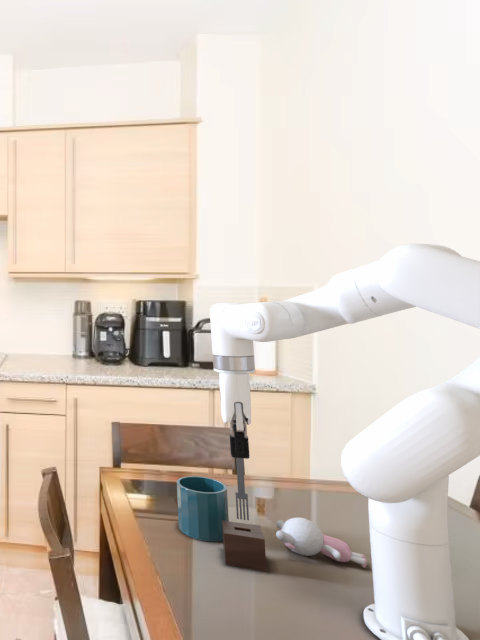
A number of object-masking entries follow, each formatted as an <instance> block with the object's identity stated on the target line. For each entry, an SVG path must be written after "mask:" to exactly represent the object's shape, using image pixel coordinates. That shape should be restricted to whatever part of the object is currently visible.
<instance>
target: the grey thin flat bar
mask: <svg viewBox="0 0 480 640" xmlns="http://www.w3.org/2000/svg"><path fill="white" fill-rule="evenodd" d="M235 461H236V479H237V491H236V492H235V507H236V509H235V510H236V519H237V520H244V521H250V512H249V511H250V510H249V495H248V493H246V486H245V469H244V468H245V467H244V458H235Z"/></svg>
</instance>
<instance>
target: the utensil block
mask: <svg viewBox="0 0 480 640" xmlns="http://www.w3.org/2000/svg"><path fill="white" fill-rule="evenodd" d="M222 531H223V540H222V547H223V557H224V564H225V565H227V566H231V567H237V568H243V569H247V570H248V569H249V570H253V571H260V572H267V570H268V569H267V556H266V554H267V553H266V541H265V535H264V533H263V529H262V526H261V525H259V524H258V525H257V524H250V523H245V522H244V523H243V522H238V521H237V522H236V521H223V520H222Z"/></svg>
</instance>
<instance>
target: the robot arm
mask: <svg viewBox="0 0 480 640" xmlns="http://www.w3.org/2000/svg"><path fill="white" fill-rule="evenodd" d="M412 308H420V309H422V310H425V311H428V312H430V313H433V314H436V315H439V316H442V317H444V318H448V319H450V320H454V321H456V322H459V323H462V324H465V325H468V326H471V327H473V328H476V329H478V330H480V260H477V259H473V258H470V257H466V256H462V255H461V254H460V253H459V252H457V251H456V250H454V249H452V248H450V247H447V246H444V245H439V244H429V243H408V244H403V245H399V246H396V247H395V248H392V249H391V250H390V251H388V252H386V253H385V254H384V255H383V256H382V257H381V258H380V259H379V260H376V261H373V262H370V263H367V264H364V265H361V266H358V267H354V268H352V269H348V270H345V271H342V272H339V273H337V274H335V275H333V276H332V277H330V280H329V282H328V283H327V284H325V285H324V286H322V287H319V288H318V289H315V290H313V291H310V292H306V293H304V294H300V295H298V296H294V297H291V298H288V299H283V300H269V301H261V302H260V301H259V302H250V303H244V302H219V303H218V302H217V303H215V304H213V305H211V307H210V309H209V319H210V320H209V321H210V334H211V335H210V336H211V349H212V351H211V352H212V365H213V371H214V372H216V373H218V374H219V375H218V376H219V377H218V378H219V379H218V380H219V381H218V382H219V383H218V385H219V401H220V415H221V420H222V422H223V423H224V424H228V423H229V431H230V434H229V448H230V456H231V458H235V459H236V458H243V459H245V460H248V459H250V458H251V457H250V444H249V443H250V442H249V436H248V427H247V426H249V425H251V423H252V401H251V400H252V399H251V385H250V374H254V373H256V363H255V362H256V361H255V348H254V342H258V343H269V342H270V343H271V342H276V341H282V340H290V339H295V338H299V337H303V336H307V335H310V334H315V333H318V332H323V331H326V330H330V329H334V328H337V327H341V326H344V325H352V324H353V325H354V324H356V323H359V322H365V321H367V320H371V319H374V318H379V317H383V316H385V315H390V314H393V313H396V312H397V313H398V312H400V311H405V310H409V309H412ZM479 457H480V356H478V358H477V359H475V361H473V362H472V363H471V364H469V365H468V366H466V367H465V368H464V369H462V370H460V372H458V373H457V374H456V375H454V376H452V377H451V378H449V379H448V380H446V381H444V382H442V383H440V384H437V385H434V386H431V387H429V388H426V389H423V390H420V391H418V392H416V393H413V394H412V395H410V396H408V397H407V398H405V399H403V400H401V401H400V402H399V403H397V404H396V405H395V406H394V407H392V408H390V409H389V410H388V411H387V412H385V414H383V415H382V416H380V417H379V418H378V419H376V420H375V421H374V422H372V423H371V424H370V425H368V426H367V427H365V428H364V429H363V430H361V432H359V433H358V434H357V435H355V436H354V437H353V438H352V439H350V440H349V441H348V442H347V443H346V444H345V446H344V447H343V449H342V452H341V456H340V465H341V470H342V474H343V475H344V478H345V479H346V481H347V483H348V484H349V485H350V486H351V487H352V489H354V490H355V491H356V492H357V493H359V494H360V495H362V496H364V497H365V498H367V500H368V501H367V504H368V505H367V508H368V509H367V511H368V512H367V513H368V528H369V529H368V530H369V541H370V543H369V544H370V556H371V569H372V570H371V572H372V582H373V583H372V585H373V599H374V603H371V604H369V605H367V606H365V608H364V610H363V612H362V614H363V621H364V624H365V625H366V627H367V629H369V631H371V633H373V635H375V636H376V637H377V638H379V639H380V640H470V639H469V637H468V636H467V635H466V634H465V633H464V632H463V631H462V630H460V629H459V628H458V627H457V624H456V623H457V622H456V611H455V609H456V608H455V598H454V597H455V596H454V584H453V575H452V562H451V548H450V547H451V546H450V529H449V513H448V512H449V511H448V510H449V509H448V508H449V507H448V501H449V499H448V498H449V483H450V481H449V480H450V479H449V478H450V475H451V474H453V473H454V472H456V471H458V470H460V469H461V468H463V467H464V466H466V465H467V464H469V463H471V462H472V461H474V460H475V459H476V458H479Z"/></svg>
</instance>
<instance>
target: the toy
mask: <svg viewBox="0 0 480 640" xmlns="http://www.w3.org/2000/svg"><path fill="white" fill-rule="evenodd" d="M275 525H276V527H277V529H278V530H276V533H275V536H276V539H278V540H280V541H281V542H282V543H284V545H285V547H286V548H288V549H289V550H291V551H292V552H293V553H295V554H297V555H299V556H305V557H310V556H311V557H312V556H315V555H317V554H318V553H321V554H323V555H325V556H326V557H328V558H330V559H332V560H333V561H336V562H338V563H348V562H349V561H351V562H354V563H356V564H359V565H360V566H361V567H362V568H363V569H366V568H367V565H368V560H367V558H366V556H365V554H363V553H359V552H354V551H352V549H351V547H350V545H348V544H347V542H345V541H343V540H342V539H339V538H337V537H334V536H331V535H326V534H323V531H322V530H321V528H320V527H319V526H318V525H317V524H316V523H314V522H313V521H312V520H309V519H307V518H304V517H292V518H289V519H287V520H286V521H284V520H282V519H278V520H277V521H276V523H275Z"/></svg>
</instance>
